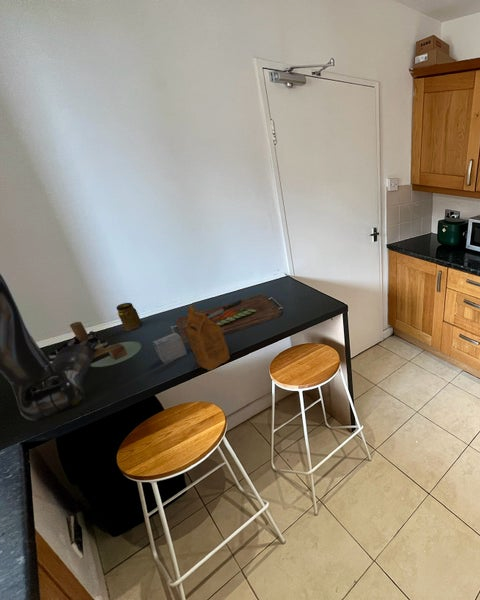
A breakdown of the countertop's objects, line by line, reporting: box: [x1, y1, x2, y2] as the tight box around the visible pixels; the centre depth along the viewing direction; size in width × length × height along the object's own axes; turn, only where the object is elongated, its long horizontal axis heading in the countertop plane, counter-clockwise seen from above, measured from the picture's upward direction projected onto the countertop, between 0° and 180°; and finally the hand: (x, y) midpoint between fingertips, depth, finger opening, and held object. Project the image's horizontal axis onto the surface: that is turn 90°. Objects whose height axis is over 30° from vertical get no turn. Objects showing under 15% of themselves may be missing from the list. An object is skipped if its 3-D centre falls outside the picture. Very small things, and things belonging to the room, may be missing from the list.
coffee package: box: [187, 305, 231, 371], centre depth 113 cm, size 10×12×22 cm
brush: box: [69, 321, 110, 364], centre depth 99 cm, size 7×3×14 cm, turn 151°
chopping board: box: [169, 294, 285, 345], centre depth 145 cm, size 45×27×3 cm, turn 130°
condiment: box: [116, 302, 144, 332], centre depth 135 cm, size 7×8×12 cm
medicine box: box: [151, 332, 188, 365], centre depth 117 cm, size 8×4×9 cm, turn 145°
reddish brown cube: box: [107, 342, 127, 360], centre depth 118 cm, size 4×4×4 cm
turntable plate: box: [90, 341, 142, 368], centre depth 120 cm, size 16×16×1 cm
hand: (86, 335), depth 101 cm, fingers closed on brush, 2 cm apart
